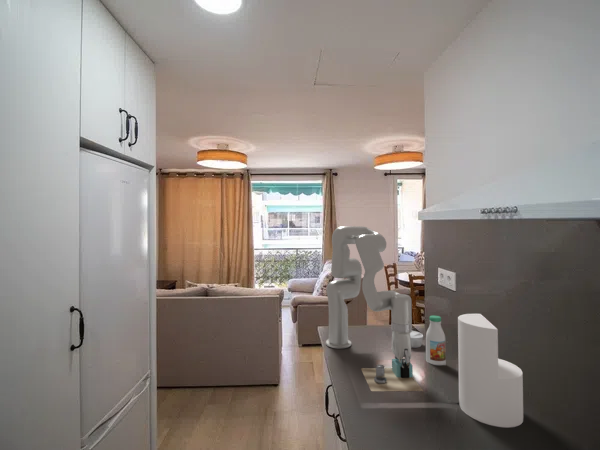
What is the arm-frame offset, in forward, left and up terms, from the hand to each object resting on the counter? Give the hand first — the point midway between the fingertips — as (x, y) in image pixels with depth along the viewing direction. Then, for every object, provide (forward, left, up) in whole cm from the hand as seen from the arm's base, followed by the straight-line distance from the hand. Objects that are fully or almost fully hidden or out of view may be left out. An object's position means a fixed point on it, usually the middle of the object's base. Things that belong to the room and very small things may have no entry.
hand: (402, 373), depth 122 cm
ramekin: (-34, +16, -2) cm, 38 cm away
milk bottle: (-11, +18, -2) cm, 21 cm away
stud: (+6, -10, 0) cm, 12 cm away
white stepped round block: (+23, +20, -2) cm, 31 cm away
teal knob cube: (0, 0, 0) cm, 0 cm away
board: (+4, -6, -1) cm, 7 cm away
